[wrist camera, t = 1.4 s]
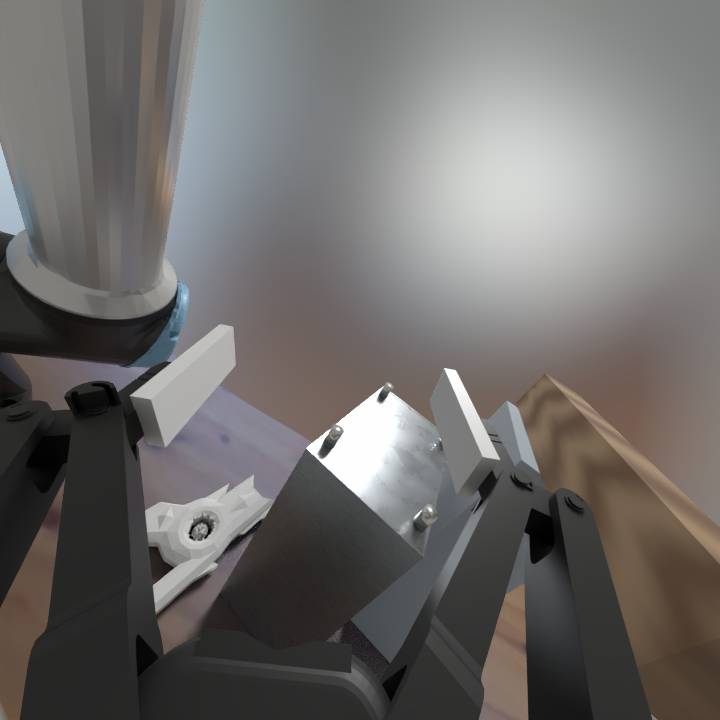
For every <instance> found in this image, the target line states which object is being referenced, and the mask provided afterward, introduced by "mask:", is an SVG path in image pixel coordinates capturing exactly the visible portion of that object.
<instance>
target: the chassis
mask: <svg viewBox="0 0 720 720" xmlns="http://www.w3.org/2000/svg"><path fill="white" fill-rule="evenodd" d="M393 388H394V387H393V386H392V384H390V383H386V384H385V386H383V387H382V388H381V389H380V390H378V391H377V392H376V393H375V394H373V395H372V396H371V397H370V398H368V399H367V400H366V401H365V402H363V403H362V404H361V405H360V406H358V407H357V408H356V409H355V410H353V412H351V413H350V414H348V415H347V416H346V417H345V418H344V419H342V420H341V421H340V422H339V423H337V424H335V425H333V426H332V428H331V429H330V430H329V431H327V432H326V433H325V434H324V435H323V436H321V437H320V438H319V439H318V440H316V441H315V442H314V443H312V444H311V445H310V446H309V447H307V448H306V450H305V452H304V453H303V455H302V457H301V458H300V460H299V462H298V463H297V465H296V467H295V468H294V470H293V472H292V473H291V475H290V477H289V478H288V480H287V482H286V483H285V485H284V486H283V488H282V490H281V491H280V493H279V495H278V496H277V498H276V500H275V501H274V503H273V505H272V506H271V508H270V510H269V511H268V513H267V515H266V516H265V518H264V520H263V521H262V523H261V525H260V526H259V528H258V530H257V531H256V533H255V535H254V536H253V538H252V540H251V541H250V543H249V545H248V546H247V548H246V550H245V551H244V553H243V555H242V556H241V558H240V560H239V561H238V563H237V565H236V566H235V568H234V570H233V571H232V573H231V575H230V576H229V578H228V580H227V581H226V583H225V585H224V586H223V588H222V590H221V591H220V595H221V596H222V597H223V599H224V600H225V601H226V602H227V604H228V605H229V606H230V607H231V609H232V610H233V611H234V613H235V614H236V615H237V616H238V618H239V619H240V620H241V622H242V623H243V624H244V625H245V627H246V628H247V629H248V630H249V632H250V633H251V634H252V636H253V637H254V638H255V639H256V640H258V641H260V642H262V643H264V644H265V645H267V646H269V647H271V648H273V649H275V650H282V649H286V648H290V647H293V646H297V645H301V644H305V643H309V642H313V641H316V640H319V641H326V640H327V639H328V638H329V637H330V636H331V635H333V634H334V633H335V632H336V631H337V630H338V629H340V628H341V627H342V626H343V625H344V624H346V623H347V622H348V621H349V620H350V619H351V618H353V617H354V616H355V615H356V614H357V613H359V612H360V611H361V610H362V609H363V608H364V607H366V606H367V605H368V604H369V603H370V602H372V601H373V600H374V599H375V598H376V597H377V596H379V595H380V594H381V593H382V592H383V591H385V590H386V589H387V588H388V587H389V586H390V585H392V584H393V583H394V582H395V581H396V580H397V579H399V578H400V577H401V576H402V575H403V574H405V573H406V572H407V571H408V570H409V569H410V568H412V567H413V566H414V565H415V564H416V563H418V562H419V561H420V560H421V559H422V558H423V557H424V553H425V549H426V544H427V540H428V536H429V532H430V528H431V524H433V523H434V522H435V521H436V520H437V519H438V518H439V514H438V511H437V509H436V508H435V507H436V502H437V498H438V494H439V490H440V486H441V481H442V477H443V473H444V469H445V465H446V457H445V453H444V450H443V446H442V443H441V439H440V436H439V432H438V429H437V427H436V426H435V425H433V424H432V423H431V422H430V421H428V420H427V419H426V418H424V417H423V416H422V415H421V414H419V413H418V412H416V411H415V410H414V409H413V408H411V407H410V406H409V405H408V404H406V403H405V402H404V401H402V400H401V399H400V398H398V397H397V396H396V395H395V394H393V393H392V392H391V391H392V389H393Z"/></svg>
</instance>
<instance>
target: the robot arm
mask: <svg viewBox="0 0 720 720" xmlns="http://www.w3.org/2000/svg"><path fill="white" fill-rule="evenodd" d="M203 5H204V0H0V143H1V146H2V150H3V153H4V156H5V160H6V163H7V167H8V170H9V174H10V177H11V180H12V184H13V187H14V191H15V194H16V198H17V201H18V204H19V208H20V211H21V215H22V218H23V221H24V225H25V228H26V229H25V230H23V231H21V232H20V233H18V234H17V235H16V236H15V235H11V234H7V233H4V232H1V231H0V607H1V605H2V603H3V601H4V599H5V597H6V595H7V593H8V591H9V589H10V587H11V585H12V583H13V581H14V579H15V577H16V575H17V573H18V571H19V569H20V567H21V565H22V563H23V561H24V559H25V557H26V555H27V553H28V551H29V549H30V547H31V545H32V543H33V541H34V539H35V537H36V535H37V533H38V531H39V529H40V527H41V525H42V523H43V521H44V519H45V517H46V515H47V513H48V511H49V509H50V507H51V505H52V503H53V501H54V499H55V497H56V495H57V493H58V491H59V489H60V487H61V485H62V483H63V481H64V479H65V486H64V494H63V502H62V510H61V519H60V527H59V535H58V543H57V552H56V560H55V568H54V576H53V584H52V593H51V601H50V609H49V617H48V623H47V627H46V630H45V632H44V633H43V634H42V635H41V636H40V637H39V638H38V639H36V641H35V643H34V645H33V647H32V650H31V654H30V658H29V662H28V669H27V675H26V682H25V689H24V695H23V702H22V709H21V716H20V720H479V716H480V713H481V708H482V704H483V699H484V687H483V685H482V682H481V675H482V671H483V667H484V664H485V660H486V657H487V654H488V650H489V647H490V644H491V640H492V637H493V634H494V630H495V627H496V624H497V620H498V617H499V614H500V610H501V607H502V604H503V601H504V597H505V594H506V591H507V587H508V584H509V581H510V577H511V574H512V571H513V567H514V564H515V561H516V557H517V554H518V551H519V547H520V544H521V541H522V537H523V552H524V585H525V617H526V650H527V683H528V715H529V720H652V717H651V713H650V710H649V706H648V703H647V699H646V696H645V692H644V689H643V685H642V682H641V678H640V675H639V671H638V668H637V664H636V661H635V657H634V654H633V651H632V647H631V644H630V640H629V637H628V633H627V630H626V626H625V623H624V619H623V616H622V612H621V609H620V605H619V602H618V598H617V595H616V591H615V588H614V584H613V581H612V577H611V574H610V570H609V567H608V563H607V560H606V556H605V553H604V549H603V546H602V542H601V539H600V535H599V532H598V528H597V525H596V521H595V518H594V514H593V512H592V510H591V508H590V506H589V505H588V504H587V503H586V501H585V500H584V499H582V498H581V497H580V496H579V495H578V494H576V493H574V492H573V491H571V490H568V489H566V488H559V489H558V490H556V491H555V492H554V493H552V492H549V491H547V490H545V489H543V488H540V487H538V486H536V485H535V483H534V481H533V480H532V478H531V477H530V476H529V475H528V474H527V473H525V472H524V471H523V470H521V469H519V468H517V467H515V465H514V463H513V461H512V460H511V458H510V456H509V454H508V452H507V450H506V449H505V447H504V445H503V444H502V441H501V439H500V437H498V434H497V432H496V430H495V428H494V427H493V426H492V425H491V424H490V423H489V422H488V421H487V420H486V419H481V418H479V416H478V414H477V412H476V410H475V408H474V406H473V404H472V402H471V400H470V398H469V396H468V394H467V392H466V390H465V388H464V386H463V384H462V382H461V380H460V378H459V376H458V374H457V372H456V371H455V370H451V369H446V368H444V370H443V372H442V374H441V377H440V379H439V381H438V383H437V385H436V388H435V390H434V392H433V395H432V397H431V399H430V404H431V408H432V411H433V415H434V418H435V422H436V425H437V429H438V432H439V436H440V439H441V443H442V446H443V450H444V453H445V457H446V460H447V464H448V467H449V471H450V474H451V478H452V481H453V485H454V488H455V492H456V495H461V496H467V497H473V495H474V494H475V493H476V491H477V490H478V491H479V494H480V497H481V499H480V500H479V501H478V502H477V504H476V505H475V506H474V507H473V509H472V510H471V512H472V514H471V516H470V518H469V520H468V522H467V523H466V525H465V527H464V529H463V531H462V533H461V535H460V537H459V539H458V540H457V542H456V544H455V546H454V548H453V550H452V552H451V554H450V556H449V558H448V559H447V561H446V563H445V565H444V567H443V569H442V571H441V573H440V575H439V577H438V578H437V580H436V582H435V584H434V586H433V588H432V590H431V592H430V594H429V596H428V597H427V599H426V601H425V603H424V605H423V607H422V609H421V611H420V613H419V614H418V616H417V618H416V620H415V622H414V624H413V626H412V628H411V630H410V632H409V633H408V635H407V637H406V639H405V641H404V643H403V645H402V646H401V648H400V650H399V651H398V653H397V654H396V656H395V657H394V659H393V660H392V662H391V663H390V665H389V667H388V669H387V670H386V672H385V674H384V676H383V678H382V680H381V681H379V679H378V678H377V677H376V675H375V674H374V673H373V671H372V670H371V669H370V668H369V667H368V666H367V665H366V664H365V663H364V662H363V661H362V660H360V659H359V658H358V657H356V656H355V655H353V654H352V644H345V643H336V642H328V641H319V640H316V641H313V642H309V643H305V644H301V645H297V646H293V647H290V648H286V649H282V650H275V649H273V648H271V647H269V646H267V645H265V644H264V643H262V642H260V641H258V640H256V639H255V638H253V637H251V636H249V635H248V634H246V633H244V632H242V631H234V630H226V629H217V628H209V627H205V628H204V631H203V633H202V636H201V637H199V638H195V639H192V640H190V641H187V642H185V643H183V644H181V645H179V646H177V647H175V648H174V649H172V650H170V651H169V652H167V653H166V654H165V655H164V654H163V646H162V639H161V634H160V630H159V627H158V623H157V618H156V611H155V602H154V592H153V583H152V573H151V563H150V554H149V544H148V535H147V525H146V516H145V506H144V496H143V487H142V477H141V468H140V458H139V448H138V445H137V442H138V441H139V440H140V439H141V438H142V437H143V436H144V438H145V440H146V443H147V445H152V446H158V447H164V448H166V446H167V445H168V444H169V443H170V442H171V441H172V439H173V438H174V437H175V436H176V435H177V434H178V432H179V431H180V430H181V429H182V428H183V426H184V425H185V424H186V423H187V422H188V421H189V419H190V418H191V417H192V416H193V415H194V413H195V412H196V411H197V410H198V409H199V408H200V406H201V405H202V404H203V403H204V402H205V401H206V399H207V398H208V397H209V396H210V395H211V393H212V392H213V391H214V390H215V389H216V388H217V386H218V385H219V384H220V383H221V382H222V380H223V379H224V378H225V377H226V376H227V375H228V373H229V372H230V371H231V370H232V369H233V367H234V366H235V365H236V364H235V363H236V362H235V348H234V332H233V327H231V326H226V325H221V324H220V325H219V326H217V327H216V328H215V329H214V330H212V331H211V332H210V333H209V334H207V335H206V336H205V337H203V338H202V339H201V340H200V341H198V342H197V343H196V344H195V345H193V346H192V347H191V348H190V349H188V350H187V351H186V352H185V353H183V354H182V355H181V356H180V357H178V358H177V359H176V360H174V361H173V362H167V360H168V359H169V357H170V356H171V354H172V352H173V350H174V348H175V346H176V344H177V341H178V337H179V333H180V331H181V329H182V327H183V324H184V321H185V317H186V313H187V308H188V302H189V290H188V288H187V287H186V286H185V285H184V284H181V283H180V282H179V281H177V279H176V274H175V271H174V269H173V267H172V266H171V264H170V263H169V261H168V260H167V259H166V258H165V257H164V254H165V248H166V242H167V235H168V229H169V222H170V215H171V210H172V203H173V197H174V190H175V184H176V178H177V171H178V165H179V159H180V152H181V145H182V139H183V133H184V126H185V120H186V114H187V107H188V101H189V95H190V88H191V82H192V76H193V69H194V63H195V56H196V49H197V44H198V36H199V31H200V24H201V18H202V12H203ZM10 353H13V354H22V355H31V356H41V357H50V358H59V359H68V360H77V361H87V362H96V363H105V364H114V365H119V366H121V367H126V368H130V367H148V368H150V369H149V370H148V371H146V372H145V374H142V375H141V376H139V377H138V379H135V380H134V381H133V382H131V383H130V384H129V385H127V386H126V387H125V388H123V389H122V390H121V391H119V392H118V393H117V390H116V388H115V386H114V384H113V383H110V382H107V381H94V382H88V383H84V384H81V385H79V386H76V387H74V388H72V389H71V390H70V391H68V392H67V393H66V395H65V396H64V398H65V400H66V402H67V404H68V406H69V407H70V409H71V410H56V411H52V409H51V408H50V406H49V405H48V403H47V402H43V401H32V385H31V382H30V379H29V377H28V376H27V374H26V373H25V372H24V371H23V369H22V368H21V367H20V365H19V364H18V363H17V362H16V360H15V359H14V358H13V356H12V355H11V354H10Z"/></svg>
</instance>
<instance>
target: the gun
mask: <svg viewBox="0 0 720 720" xmlns="http://www.w3.org/2000/svg"><path fill="white" fill-rule="evenodd" d="M253 480H254V475H252V476H251V477H249V478H248V479H246V480H245V481H244V482H242V483H241V484H239V485H238V486H236V487H235V488H233V489H232V490H231V491H229V492H228V493H226V491H227V488H228V486H229V484H227V485H226V486H224V487H223V488H221V489H219V490H218V491H216V492H214V493H213V494H211V495H210V496H208V497H206V498H201V499H198V500H196V501H193V502H191V503H188V504H185V505H178V504H170V503H163V502H159V503H158V504H156V505H154V506H152V507H151V508H149V509H147V510H146V511H145V516H146V525H147V535H148V544H149V546H150V547H158V549H159V552H160V554H161V556H162V558H163V560H164V562H166V563H168V564H169V565H171V566H172V567H174V569H173V570H171V571H170V572H169V573H168V574H167V575H165V576H164V577H163V578H162V579H160V580H159V581H158V582H157V583H155V584H154V585H153V592H154V602H155V611H156V615H157V614H158V613H159V612H160V611H162V610H163V609H164V608H165V607H166V606H167V605H168V604H169V603H170V602H172V601H173V600H174V599H175V598H176V597H177V596H178V595H179V594H180V593H182V592H183V591H184V590H185V589H186V588H187V587H188V586H189V585H190V584H191V583H193V582H194V581H196V580H198V579H200V578H201V577H203V576H205V575H206V574H208V573H210V572H211V571H213V570H215V569H216V568H217V567H216V566H218V565H219V564H216V563H215V562H216V561H217V560H218V559H219V557H220V556H221V555H222V553H223V552H224V551H225V549H226V548H227V546H228V545H229V544H230V543H231V542H232V541H233V540H234V539H235V538H236V537H237V536H241V535H244V534H245V533H246V532H247V531H248V530H250V529H251V528H252V527H253V526H254V525H255V524H256V523H257V522H258V521H260V520H262V519H264V518H265V516H266V515H267V513H268V511H269V510H270V508H271V506H272V505H273V503H274V501H275V500H270V499H266V498H263V497H261V496H260V494H259V493H258V492H257V491H256V490H255V489H254V487H253ZM225 493H226V494H225ZM197 524H199V525H197ZM196 525H197V526H196ZM207 525H208V526H209V528H210V529H211V531H210V535H208V537H207V538H206V539H204V537H206V535H207V532H208V527H207ZM192 526H195V527H194V530H192V534H191V536H193V539H194V540H195V541H193V540H192V539H190V538H188V537H189V536H190V534H188V533H189V531H190V529H192ZM200 539H203V540H202V541H198V540H200Z"/></svg>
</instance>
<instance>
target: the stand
mask: <svg viewBox="0 0 720 720" xmlns="http://www.w3.org/2000/svg"><path fill="white" fill-rule="evenodd" d="M488 422H489V423H490V424H491V425H492V426H493V427H494V428H495V430H496V432H497V434H498V437H500V439H501V441H502V444H503V445H504V447H505V449H506V450H507V452H508V454H509V456H510V458H511V460H512V461H513V463H514V465H515V467H517V468H519V469H521V470H523V471H524V472H525V473H527V474H528V475H529V476H530V477H531V478H532V480H533V481H534V483H535V485H536V486H538V487H540V488H543V489H545V487H544V484H543V481H542V478H541V475H540V472H539V469H538V466H537V463H536V460H535V457H534V454H533V451H532V448H531V445H530V442H529V439H528V436H527V433H526V430H525V427H524V425H523V422H522V419H521V416H520V413H519V410H518V408H517V407H516V406H514V405H513V404H511V403H510V402H508V401H506V402H505V403H504V404H503V406H501V407H500V408H499V409H498V410H497V411H496V412H495V413H494V415H493V416H492V417H491V418H490V419H489V420H488ZM545 490H546V489H545ZM480 499H481V497H480V494H479V491H478V490H477V491H476V493H475V494H474V495H473V497H467V496H461V495H456V492H455V488H454V485H453V481H452V478H451V474H450V471H449V467H448V464H447V463H446V465H445V469H444V473H443V477H442V481H441V486H440V490H439V494H438V498H437V502H436V507H435V508H436V509H437V511H438V514H439V518H438V519H437V520H436V521H435V522H434V523H433V524H431V528H430V532H429V536H428V540H427V544H426V549H425V553H424V557H423V558H422V559H421V560H420V561H419V562H418V563H416V564H415V565H414V566H413V567H412V568H410V569H409V570H408V571H407V572H406V573H405V574H403V575H402V576H401V577H400V578H399V579H397V580H396V581H395V582H394V583H393V584H392V585H390V586H389V587H388V588H387V589H386V590H385V591H383V592H382V593H381V594H380V595H379V596H377V597H376V598H375V599H374V600H373V601H372V602H370V603H369V604H368V605H367V606H366V607H364V608H363V609H362V610H361V611H360V612H359V613H357V614H356V615H355V616H354V617H353V618H351V619H350V620H351V621H352V622H353V623H354V624H355V625H356V626H357V628H358V629H359V630H360V631H361V632H362V633H363V634H364V635H365V636H366V637H367V638H368V640H369V641H370V642H371V643H372V644H373V645H374V646H375V647H376V648H377V649H378V651H379V652H380V653H381V654H382V655H383V656H384V657H385V658H386V659H387V660H388V662H389V663H391V662H392V660H393V659H394V657H395V656H396V654H397V653H398V651H399V650H400V648H401V646H402V645H403V643H404V641H405V639H406V637H407V635H408V633H409V632H410V630H411V628H412V626H413V624H414V622H415V620H416V618H417V616H418V614H419V613H420V611H421V609H422V607H423V605H424V603H425V601H426V599H427V597H428V596H429V594H430V592H431V590H432V588H433V586H434V584H435V582H436V580H437V578H438V577H439V575H440V573H441V571H442V569H443V567H444V565H445V563H446V561H447V559H448V558H449V556H450V554H451V552H452V550H453V548H454V546H455V544H456V542H457V540H458V539H459V537H460V535H461V533H462V531H463V529H464V527H465V525H466V523H467V522H468V520H469V518H470V516H471V514H472V512H471V510H472V509H473V507H474V506H475V505H476V504H477V502H478V501H479V500H480ZM523 583H524V552H523V537H522V541H521V544H520V547H519V551H518V554H517V557H516V561H515V564H514V567H513V571H512V574H511V577H510V581H509V584H508V587H507V591H506V594H507V593H509V592H510V591H512V590H514V589H515V588H517V587H519V586H520V585H522V584H523Z"/></svg>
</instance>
